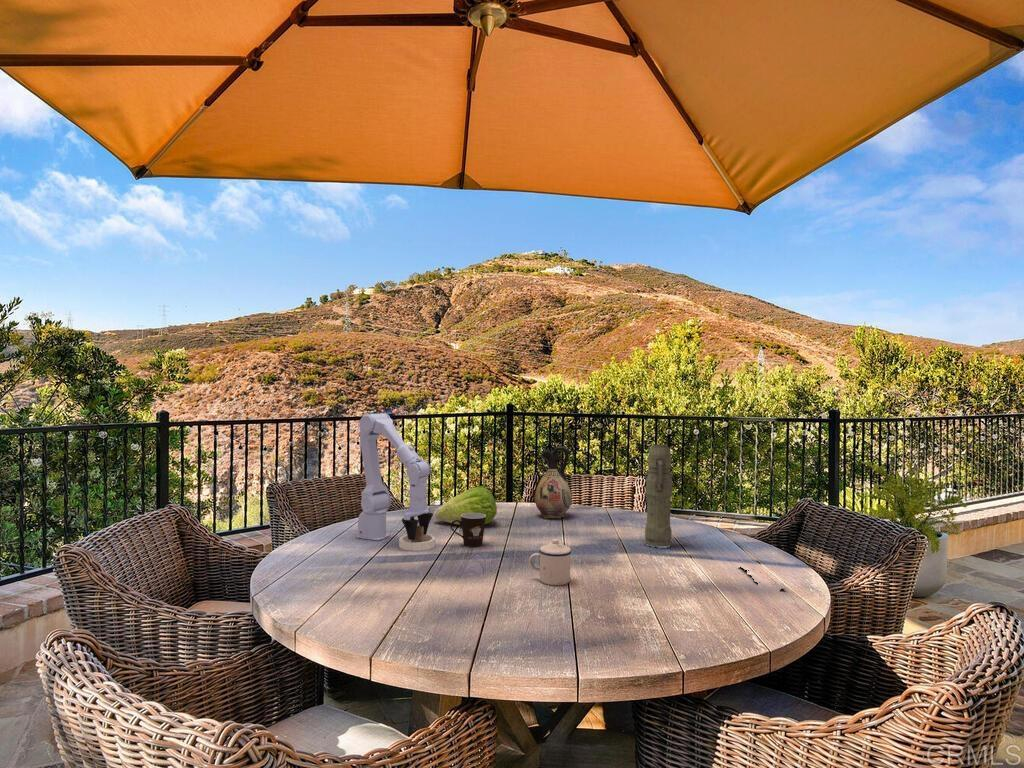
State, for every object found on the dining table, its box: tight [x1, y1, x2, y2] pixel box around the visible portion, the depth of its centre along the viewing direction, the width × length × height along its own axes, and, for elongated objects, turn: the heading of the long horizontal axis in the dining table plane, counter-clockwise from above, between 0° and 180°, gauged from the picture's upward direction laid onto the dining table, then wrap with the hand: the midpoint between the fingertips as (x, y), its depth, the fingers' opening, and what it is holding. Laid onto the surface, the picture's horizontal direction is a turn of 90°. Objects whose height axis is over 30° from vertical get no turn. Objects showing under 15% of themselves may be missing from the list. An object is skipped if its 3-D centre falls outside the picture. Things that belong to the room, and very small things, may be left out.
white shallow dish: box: [398, 533, 436, 552], centre depth 200 cm, size 12×12×2 cm
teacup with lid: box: [528, 538, 572, 586], centre depth 168 cm, size 12×9×12 cm
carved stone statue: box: [644, 444, 673, 546], centre depth 206 cm, size 9×12×35 cm
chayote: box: [433, 485, 498, 526], centre depth 233 cm, size 15×24×16 cm
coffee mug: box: [450, 513, 486, 548], centre depth 203 cm, size 12×9×10 cm
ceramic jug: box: [534, 445, 573, 519], centre depth 247 cm, size 17×15×30 cm
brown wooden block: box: [411, 525, 424, 542], centre depth 200 cm, size 4×1×6 cm, turn 67°
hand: (417, 536), depth 200 cm, fingers open, 7 cm apart
